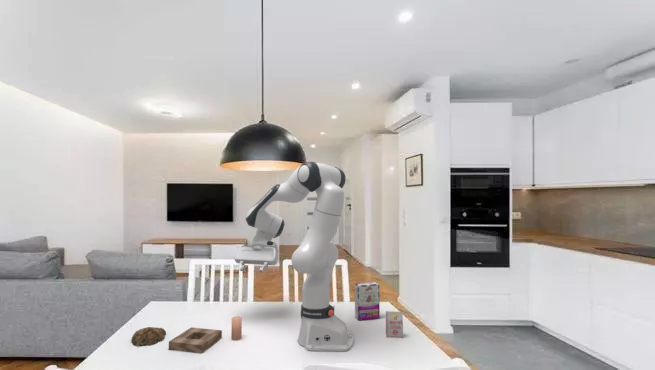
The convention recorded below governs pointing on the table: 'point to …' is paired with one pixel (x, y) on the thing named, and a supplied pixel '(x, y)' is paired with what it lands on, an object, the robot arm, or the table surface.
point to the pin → (236, 328)
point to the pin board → (195, 340)
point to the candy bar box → (367, 301)
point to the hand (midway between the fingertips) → (251, 271)
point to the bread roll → (148, 336)
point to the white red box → (394, 324)
